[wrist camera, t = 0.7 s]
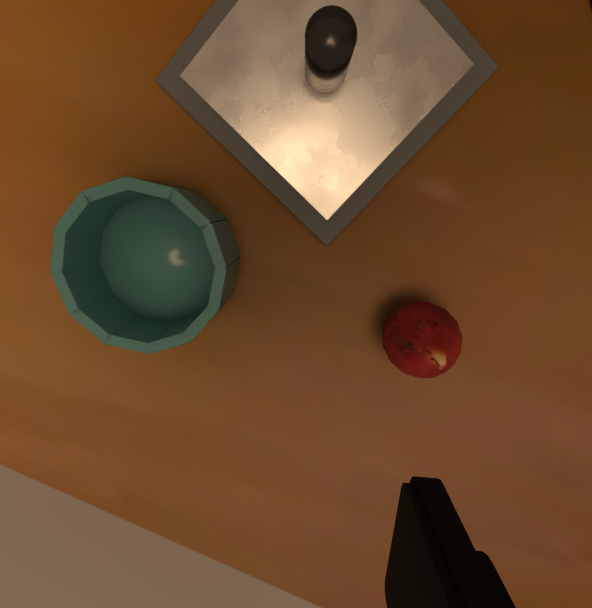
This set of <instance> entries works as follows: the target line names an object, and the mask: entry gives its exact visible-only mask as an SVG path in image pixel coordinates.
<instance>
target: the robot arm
mask: <svg viewBox="0 0 592 608" xmlns="http://www.w3.org/2000/svg"><path fill="white" fill-rule="evenodd" d="M385 597H386V603H387V608H516V607H515V606H514V604H513V602H512V600H511V598H510V596H509V594H508V592H507V590H506V588H505V586H504V584H503V582H502V580H501V578H500V577H499V575H498V573H497V571H496V569H495V567H494V565H493V563H492V562H491V560H490V558H489V557H488V555H486V554H485V553H484V552H482V551H475V549H474V547H473V545H472V543H471V540H470V538H469V536H468V534H467V532H466V530H465V528H464V526H463V524H462V522H461V520H460V518H459V516H458V514H457V512H456V510H455V508H454V506H453V503H452V501H451V499H450V497H449V495H448V493H447V491H446V489H445V487H444V485H443V483H442V481H441V480H440V479H438V478H426V477H415V476H414V477H412V478H411V480H410V483H403V484H402V487H401V492H400V498H399V504H398V509H397V515H396V521H395V526H394V532H393V538H392V543H391V549H390V555H389V561H388V566H387V572H386V578H385Z"/></svg>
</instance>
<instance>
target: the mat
mask: <svg viewBox="0 0 592 608" xmlns="http://www.w3.org/2000/svg"><path fill="white" fill-rule="evenodd" d="M237 1H238V0H216V1H215V2H214V4H213V5H212V6H211V8H210V9H209V10H208V12H207V13H206V14H205V15H204V17H203V18H202V19H201V21H200V22H199V23H198V25H197V26H196V27H195V29H194V30H193V31H192V33H191V34H190V35H189V37H188V38H187V39H186V40H185V42H184V43H183V44H182V46H181V47H180V48H179V50H178V51H177V52H176V54H175V55H174V56H173V58H172V59H171V60H170V61H169V63H168V64H167V65H166V67H165V68H164V69H163V71H162V72H161V73H160V75H159V76H158V77H157V79H156V80H155V81H156V82H157V83H158V84H159V85H160V86H161V87H162V88H163V89H164V90H166V91H167V92H168V93H169V94H170V95H171V96H172V97H173V98H174V99H175V100H176V101H177V102H178V103H179V104H180V105H181V106H182V107H183V108H184V109H185V110H186V111H187V112H188V113H189V114H190V115H191V116H192V117H193V118H195V119H196V120H197V121H198V122H199V123H200V124H201V125H202V126H203V127H204V128H205V129H206V130H207V131H208V132H209V133H210V134H211V135H212V136H213V137H214V138H215V139H216V140H217V141H218V142H219V143H220V144H221V145H222V146H224V147H225V148H226V149H227V150H228V151H229V152H230V153H231V154H232V155H233V156H234V157H235V158H236V159H237V160H238V161H239V162H240V163H241V164H242V165H243V166H244V167H245V168H246V169H247V170H248V171H249V172H250V173H251V174H253V175H254V176H255V177H256V178H257V179H258V180H259V181H260V182H261V183H262V184H263V185H264V186H265V187H266V188H267V189H268V190H269V191H270V192H271V193H272V194H273V195H274V196H275V197H276V198H277V199H278V200H279V201H280V202H282V203H283V204H284V205H285V206H286V207H287V208H288V209H289V210H290V211H291V212H292V213H293V214H294V215H295V216H296V217H297V218H298V219H299V220H300V221H301V222H302V223H303V224H304V225H305V226H306V227H307V228H308V229H309V230H311V231H312V232H313V233H314V234H315V235H316V236H317V237H318V238H319V239H320V240H321V241H322V242H323V243H324V244H325V245H326V246H328V245H329V243H330V242H331V241H332V240H333V239H334V238H335V237H336V236H337V235H338V234H339V233H340V232H341V231H342V230H343V229H344V228H345V227H346V226H347V225H348V224H349V223H350V222H351V221H352V219H353V218H354V217H355V216H356V215H357V214H358V213H359V212H360V211H361V210H362V209H363V208H364V207H365V206H366V205H367V204H368V203H369V202H370V201H371V200H372V199H373V198H374V197H375V196H376V194H377V193H378V192H379V191H380V190H381V189H382V188H383V187H384V186H385V185H386V184H387V183H388V182H389V181H390V180H391V179H392V178H393V177H394V176H395V175H396V174H397V173H398V172H399V170H400V169H401V168H402V167H403V166H404V165H405V164H406V163H407V162H408V161H409V160H410V159H411V158H412V157H413V156H414V155H415V154H416V153H417V152H418V151H419V150H420V149H421V148H422V147H423V145H424V144H425V143H426V142H427V141H428V140H429V139H430V138H431V137H432V136H433V135H434V134H435V133H436V132H437V131H438V130H439V129H440V128H441V127H442V126H443V125H444V124H445V123H446V121H447V120H448V119H449V118H450V117H451V116H452V115H453V114H454V113H455V112H456V111H457V110H458V109H459V108H460V107H461V106H462V105H463V104H464V103H465V102H466V101H467V100H468V99H469V98H470V96H471V95H472V94H473V93H474V92H475V91H476V90H477V89H478V88H479V87H480V86H481V85H482V84H483V83H484V82H485V81H486V80H487V79H488V78H489V77H490V76H491V75H492V74H493V72H494V71H495V70H496V69H497V68H498V67H499V66H498V65H497V64H496V63H495V62H494V61H493V59H492V58H491V57H490V56H489V55H488V54H487V52H486V51H485V50H484V49H483V48H482V46H481V45H480V44H479V43H478V42H477V41H476V39H475V38H474V37H473V36H472V35H471V34H470V32H469V31H468V30H467V29H466V28H465V27H464V25H463V24H462V23H461V22H460V21H459V19H458V18H457V17H456V16H455V15H454V14H453V12H452V11H451V10H450V9H449V8H448V7H447V5H446V4H445V3H444V2H443V1H442V0H419V1H420V2H421V3H422V4H423V6H424V7H425V8H426V9H427V10H428V11H429V12H430V14H431V15H432V16H433V17H434V18H435V19H436V21H437V22H438V23H439V24H440V25H441V26H442V28H443V29H444V30H445V31H446V32H447V33H448V35H449V36H450V37H451V38H452V39H453V40H454V41H455V43H456V44H457V45H458V46H459V47H460V48H461V50H462V51H463V52H464V53H465V54H466V55H467V57H468V58H469V59H470V60H471V61H472V62H473V63H474V65H473V66H472V67H471V68H470V69H469V70H468V71H467V72H466V73H465V75H464V76H463V77H462V78H461V79H460V80H459V81H458V82H457V83H456V84H455V85H454V86H453V87H452V88H451V89H450V90H449V91H448V93H447V94H446V95H445V96H444V97H443V98H442V99H441V100H440V101H439V102H438V103H437V104H436V105H435V106H434V107H433V108H432V110H431V111H430V112H429V113H428V114H427V115H426V116H425V117H424V118H423V119H422V120H421V121H420V122H419V123H418V124H417V125H416V126H415V128H414V129H413V130H412V131H411V132H410V133H409V134H408V135H407V136H406V137H405V138H404V139H403V140H402V141H401V142H400V143H399V145H398V146H397V147H396V148H395V149H394V150H393V151H392V152H391V153H390V154H389V155H388V156H387V157H386V158H385V159H384V160H383V161H382V163H381V164H380V165H379V166H378V167H377V168H376V169H375V170H374V171H373V172H372V173H371V174H370V175H369V176H368V177H367V178H366V180H365V181H364V182H363V183H362V184H361V185H360V186H359V187H358V188H357V189H356V190H355V191H354V192H353V193H352V194H351V195H350V196H349V198H348V199H347V200H346V201H345V202H344V203H343V204H342V205H341V206H340V207H339V208H338V209H337V210H336V211H335V212H334V213H333V215H332V216H331V217H330V218H329V219H328V220H326V219H325V218H324V217H323V216H322V215H321V214H320V213H319V212H318V211H317V210H316V209H315V208H314V207H313V206H312V205H311V204H310V203H309V202H308V201H307V200H306V199H305V198H304V197H303V196H302V195H301V194H300V193H299V192H298V191H297V190H296V189H295V188H294V187H293V186H291V185H290V184H289V183H288V182H287V181H286V180H285V179H284V178H283V177H282V176H281V175H280V174H279V173H278V172H277V171H276V170H275V169H274V168H273V167H272V166H271V165H270V164H269V163H268V162H267V161H266V160H265V159H264V158H263V157H262V156H261V155H260V154H259V153H258V152H257V151H256V150H255V149H254V148H253V147H252V146H251V145H250V144H249V143H248V142H247V141H246V140H245V139H244V138H243V137H241V136H240V135H239V134H238V133H237V132H236V131H235V130H234V129H233V128H232V127H231V126H230V125H229V124H228V123H227V122H226V121H225V120H224V119H223V118H222V117H221V116H220V115H219V114H218V113H217V112H216V111H215V110H214V109H213V108H212V107H211V106H210V105H209V104H208V103H207V102H206V101H205V100H204V99H203V98H202V97H201V96H200V95H199V94H198V93H197V92H196V91H195V90H194V89H193V88H191V87H190V86H189V85H188V84H187V83H186V82H185V81H184V80H183V79H182V78H181V77H180V75H181V74H182V73H183V71H184V70H185V69H186V67H187V66H188V65H189V63H190V62H191V61H192V60H193V58H194V57H195V56H196V54H197V53H198V52H199V51H200V49H201V48H202V47H203V45H204V44H205V43H206V42H207V40H208V39H209V38H210V36H211V35H212V34H213V32H214V31H215V30H216V29H217V27H218V26H219V25H220V23H221V22H222V21H223V20H224V18H225V17H226V16H227V14H228V13H229V12H230V10H231V9H232V8H233V7H234V5H235V4H236V3H237Z"/></svg>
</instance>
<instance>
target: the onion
mask: <svg viewBox="0 0 592 608" xmlns="http://www.w3.org/2000/svg"><path fill="white" fill-rule="evenodd" d="M461 345H462V335H461V332H460V329H459V326H458V323H457V321H456V320H455V319H454V318H453V317H452V316H451V315H450V314H449V313H448V312H447V311H446V310H445V309H444V308H442V307H439V306H437V305H434V304H432V303H429V302H413V303H410V304H407V305H404V306H401V307H400V308H399V309H397V310H396V311H395V312H394V313H392V314H391V315H390V316H389V318H388V320H387V322H386V324H385V326H384V328H383V347H384V349H385V351H386V353H387V355H388V357H389V359H390V361H391V362H392V363H393V364H394V365H395V366H396V367H397V368H398V369H400V370H401V371H402V372H404V373H405V374H408V375H411V376H415V377H418V378H433V377H436V376H438V375H440V374H442V373H445V372H446V371H447V370H448V369H449V368H450V367H451V366H453V365H454V364H455V362H456V360H457V358H458V356H459V354H460V353H461Z"/></svg>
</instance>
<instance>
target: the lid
mask: <svg viewBox="0 0 592 608" xmlns="http://www.w3.org/2000/svg"><path fill="white" fill-rule="evenodd" d="M473 65H474V63H473V62H472V61H471V60H470V59H469V58H468V57H467V55H466V54H465V53H464V52H463V51H462V50H461V48H460V47H459V46H458V45H457V44H456V43H455V41H454V40H453V39H452V38H451V37H450V36H449V35H448V33H447V32H446V31H445V30H444V29H443V28H442V26H441V25H440V24H439V23H438V22H437V21H436V19H435V18H434V17H433V16H432V15H431V14H430V12H429V11H428V10H427V9H426V8H425V7H424V6H423V4H422V3H421V2H420V1H419V0H238V1H237V3H236V4H235V5H234V7H233V8H232V9H231V10H230V12H229V13H228V14H227V16H226V17H225V18H224V20H223V21H222V22H221V23H220V25H219V26H218V27H217V29H216V30H215V31H214V32H213V34H212V35H211V36H210V38H209V39H208V40H207V42H206V43H205V44H204V45H203V47H202V48H201V49H200V51H199V52H198V53H197V54H196V56H195V57H194V58H193V60H192V61H191V62H190V63H189V65H188V66H187V67H186V69H185V70H184V71H183V73H182V74H181V75H180V77H181V78H182V79H183V80H184V81H185V82H186V83H187V84H188V85H189V86H190V87H191V88H193V89H194V90H195V91H196V92H197V93H198V94H199V95H200V96H201V97H202V98H203V99H204V100H205V101H206V102H207V103H208V104H209V105H210V106H211V107H212V108H213V109H214V110H215V111H216V112H217V113H218V114H219V115H220V116H221V117H222V118H223V119H224V120H225V121H226V122H227V123H228V124H229V125H230V126H231V127H232V128H233V129H234V130H235V131H236V132H237V133H238V134H239V135H240V136H241V137H243V138H244V139H245V140H246V141H247V142H248V143H249V144H250V145H251V146H252V147H253V148H254V149H255V150H256V151H257V152H258V153H259V154H260V155H261V156H262V157H263V158H264V159H265V160H266V161H267V162H268V163H269V164H270V165H271V166H272V167H273V168H274V169H275V170H276V171H277V172H278V173H279V174H280V175H281V176H282V177H283V178H284V179H285V180H286V181H287V182H288V183H289V184H290V185H291V186H293V187H294V188H295V189H296V190H297V191H298V192H299V193H300V194H301V195H302V196H303V197H304V198H305V199H306V200H307V201H308V202H309V203H310V204H311V205H312V206H313V207H314V208H315V209H316V210H317V211H318V212H319V213H320V214H321V215H322V216H323V217H324V218H325V219H326V220H328V219H329V218H330V217H331V216H332V215H333V213H334V212H335V211H336V210H337V209H338V208H339V207H340V206H341V205H342V204H343V203H344V202H345V201H346V200H347V199H348V198H349V196H350V195H351V194H352V193H353V192H354V191H355V190H356V189H357V188H358V187H359V186H360V185H361V184H362V183H363V182H364V181H365V180H366V178H367V177H368V176H369V175H370V174H371V173H372V172H373V171H374V170H375V169H376V168H377V167H378V166H379V165H380V164H381V163H382V161H383V160H384V159H385V158H386V157H387V156H388V155H389V154H390V153H391V152H392V151H393V150H394V149H395V148H396V147H397V146H398V145H399V143H400V142H401V141H402V140H403V139H404V138H405V137H406V136H407V135H408V134H409V133H410V132H411V131H412V130H413V129H414V128H415V126H416V125H417V124H418V123H419V122H420V121H421V120H422V119H423V118H424V117H425V116H426V115H427V114H428V113H429V112H430V111H431V110H432V108H433V107H434V106H435V105H436V104H437V103H438V102H439V101H440V100H441V99H442V98H443V97H444V96H445V95H446V94H447V93H448V91H449V90H450V89H451V88H452V87H453V86H454V85H455V84H456V83H457V82H458V81H459V80H460V79H461V78H462V77H463V76H464V75H465V73H466V72H467V71H468V70H469V69H470V68H471V67H472V66H473Z"/></svg>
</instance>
